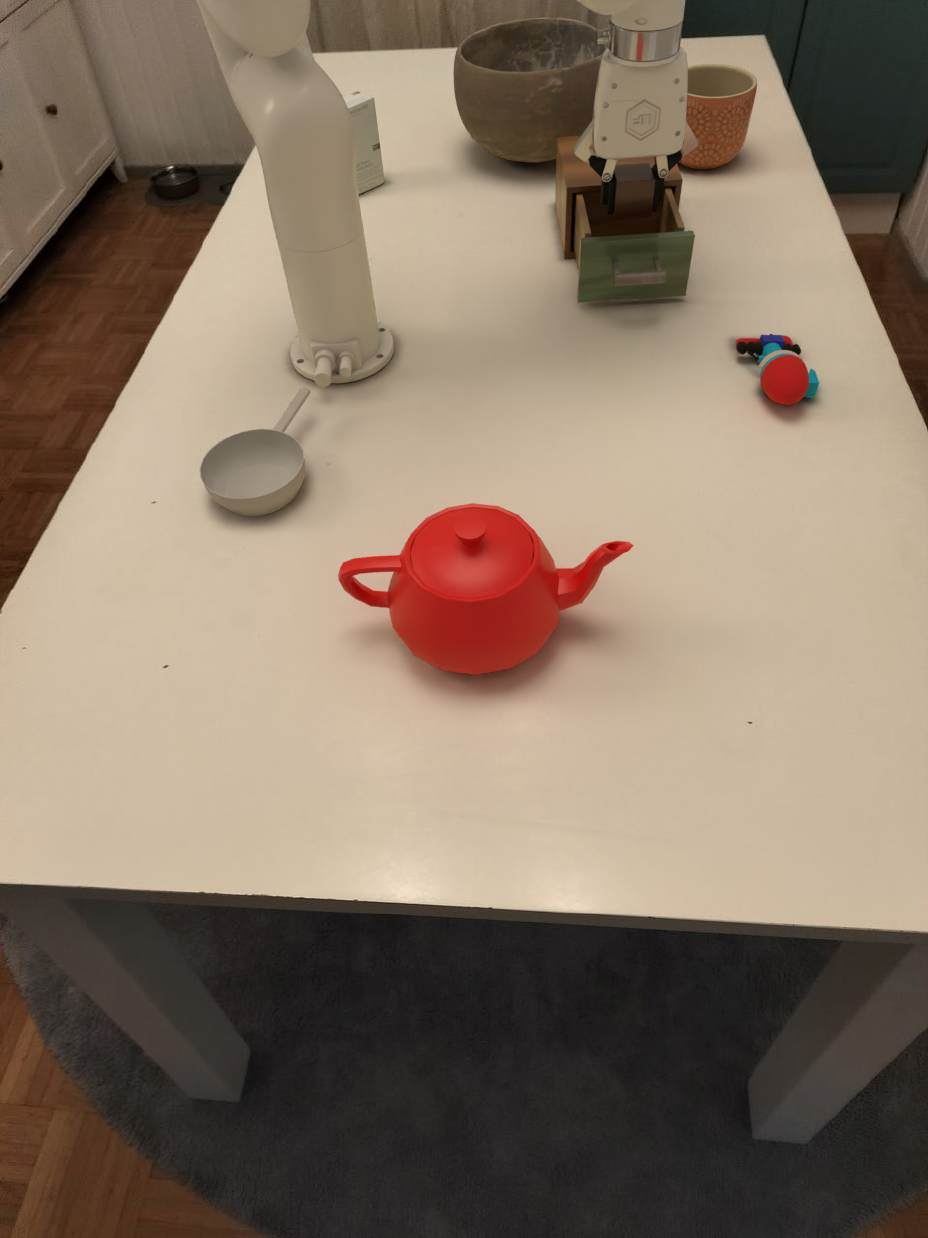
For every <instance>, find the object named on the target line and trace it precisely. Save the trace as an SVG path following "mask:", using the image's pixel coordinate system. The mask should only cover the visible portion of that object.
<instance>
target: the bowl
mask: <svg viewBox="0 0 928 1238" xmlns="http://www.w3.org/2000/svg"><path fill="white" fill-rule="evenodd" d="M597 30H599V29H598V28H596V27H595V26H593V25H592V24H590V23H587V22H584V21H581V20H577V19H571V18H565V17H546V16H544V17H532V18H531V17H530V18H522V19H516V20H515V19H514V20H509V21H504V22H499V23H496V24H492V25H489V26H486V27H485V28H482V29H479V30H477V31H475V32H473V33H471V34H469V35H467V37H465V38H464V39H463V40H462V41H461V42H460V43H459V44H458V46H457V49H456V51H455V54H454V61H453V91H454V99H455V103H456V108H457V112H458V115H459V117H460V120H461V122H462V124H463V126H464V128H465V130H466V131H467V133H468V134H469V135H470V137H471V139H473V140H474V141H475V142H476V143H477V145H478V146H479V147H481V148H482V149H483V150H484V151H486V152H488V153H490V154H492V155H493V156H495V157H497V158H500V159H504V160H507V161H514V162H520V163H521V162H522V163H543V162H549V161H555V160H556V147H557V137H566V136H581V135H582V134H583V133H584V131H585V130H586V128H587V127H588V126H589V124H590V123H591V121H592V120H593V110H594V101H595V93H596V86H597V80H598V74H599V69H600V65H601V60H602V57H603V53H604V52H605V51H606V50H608V49H609V48H607V45H605V46H603V44H596V31H597Z"/></svg>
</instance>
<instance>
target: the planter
mask: <svg viewBox="0 0 928 1238" xmlns="http://www.w3.org/2000/svg"><path fill="white" fill-rule="evenodd" d="M757 89H758V78H757V77H756V76H755V74H753V73H752V72H751V71H749V70H747V69H745V68H742V67H739V66H735V65H730V64H724V63H723V64H722V63H705V64H695V65H691V66H688V91H687V109H686V120H687V122H688V124H689V125H690V127H691V129H692V130H693V132H694V134H695V135H696V137H697V140H698V142H699V143H698V146H697V147H696V148H695V149H693V150H692V151H691V152H689V153H688V154H687V155H685V156H683V157H682V159H681V160H680V161H679V162H678V163H677V164H680V165H681V166H683V167H686V168H689V169H693V170H712V169H717V168H720V167H722V166H724V165H726V164H727V163H729V162H731V161H732V160H733V159H734V158H735V157H737V156H738V154H739V153H740V152H741V151H742V149H743V147H744V145H745V142H746V140H747V139H746V138H747V135H748V132H749V126H750V122H751V117H752V114H753V113H752V112H753V108H754V104H755V99H756V95H757Z"/></svg>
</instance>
